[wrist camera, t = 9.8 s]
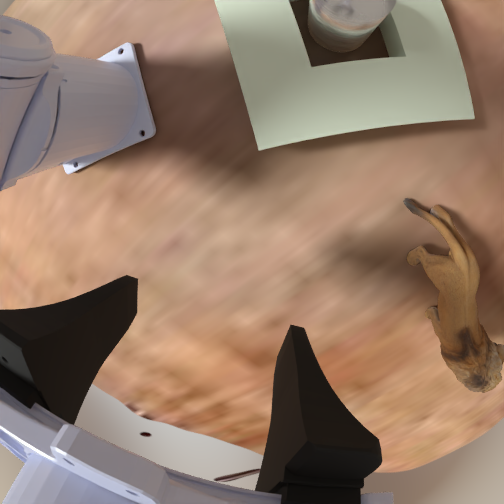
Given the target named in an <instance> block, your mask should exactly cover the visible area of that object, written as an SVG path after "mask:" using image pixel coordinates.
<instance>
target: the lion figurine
mask: <svg viewBox="0 0 504 504" xmlns="http://www.w3.org/2000/svg"><path fill="white" fill-rule="evenodd" d="M403 202H404V204H405V205H406V206H407V208H408V209H409V210H410V211H411V212H412V213H413V214H416V215H418V216H420V217H422V218H424V219H425V220H427V221H428V222H429V223H431V224H432V225H433V226H434V227H435V228H436V229H437V230H438V231H439V232H440V233H441V235H442V236H443V237H444V239H445V240H446V242H447V243H448V245H449V247H450V251H449V255H437V254H429V253H428V252H427V251H426V249H425V248H424V246H419V247H417V248H415V249H413V250H411V251H410V252H409V253H408V256H407V262H408V263H409V264H410V265H417V264H419V263H420V262H421V263H422V265H423V268H424V270H425V272H426V274H427V276H428V277H429V278H430V279H431V280H432V281H433V283H434V285H435V286H436V288H437V289H438V290H439V291H440V292H439V296H438V309H437V308H436V307H430V308H428V310H427V311H426V313H425V316H426V318H429V319H431V320H432V324H433V327H434V331H435V333H436V335H437V336H438V337H439V340H440V342H441V345H440V346H441V354H442V357H443V359H444V361H445V362H446V364H447V366H448V367H449V368H450V369H451V370H452V371H453V372H454V374H455V375H456V377H457V380H459V381H460V382H462V383H463V384H464V385H465V386H466V387H467V388H468V389H469V390H470V391H473V392H482V393H485V392H488V391H490V390H492V389H494V388H495V387H496V385H498V384H499V382H500V381H501V380H502V376H501V373H500V371H501V370H502V364H503V362H504V345H502V344H498V345H497V344H496V343H495V342H492V341H491V340H490V339H489V338H488V335H487V333H486V331H485V330H484V328H483V326H482V325H481V324H480V322H479V319H478V308H477V303H476V299H475V295H476V292H477V289H478V285H479V279H480V271H479V267H478V263H477V260H476V258H475V255H474V253H473V251H472V250H471V248H470V246H469V245H468V244H467V243H466V242H465V240H464V239H463V238H462V237H461V235H460V234H459V233H458V231H457V229H456V228H455V226H454V224H453V221H452V218H451V216H450V215H449V213H447V212H446V211H445V210H443V209H442V208H441V206H439V205H435V206H433V207H432V208H431V210H430V214H429V213H428V212H426V211H424V210H422V209H420V208H419V207H418V206H417V205H416V204H415V202H413V201H411V200H410V199H408V198H405V199H404V201H403Z"/></svg>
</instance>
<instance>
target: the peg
mask: <svg viewBox="0 0 504 504" xmlns="http://www.w3.org/2000/svg"><path fill="white" fill-rule="evenodd" d="M396 1H397V0H310V1H309V13H308V30H309V32H310V34H311V36H312V38H313V39H314V40H315V41H316V42H317V43H318V44H319V45H321V46H322V47H324V48H326V49H328V50H330V51H334V52H350V51H353V50H355V49H357V48H359V47H360V46H361V45H362V44H363V43H364V42H365V40H366V39H367V38H368V37H369V36H370V35H371V33H372V32H373V31H374V30H375V29H376V28H377V27H378V25H379V24H380V23H381V22H382V21H383V20H384V19H385V17H386V16H387V15H388V14H389V13H390V12H391V11H392V9H393V8H394V6H395V4H396Z"/></svg>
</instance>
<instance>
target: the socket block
mask: <svg viewBox="0 0 504 504" xmlns="http://www.w3.org/2000/svg"><path fill="white" fill-rule="evenodd" d="M214 1H215V4H216V7H217V10H218V13H219V16H220V19H221V23H222V26H223V29H224V32H225V35H226V39H227V42H228V45H229V48H230V52H231V55H232V58H233V62H234V65H235V68H236V72H237V75H238V79H239V82H240V85H241V89H242V92H243V96H244V99H245V103H246V106H247V110H248V113H249V117H250V121H251V124H252V128H253V131H254V135H255V139H256V142H257V146H258V150H264V149H268V148H272V147H276V146H281V145H285V144H290V143H295V142H299V141H304V140H309V139H314V138H319V137H325V136H330V135H336V134H342V133H347V132H354V131H360V130H366V129H373V128H380V127H388V126H396V125H404V124H413V123H423V122H435V121H448V120H464V119H475V116H474V110H473V105H472V100H471V95H470V90H469V86H468V82H467V77H466V73H465V70H464V66H463V62H462V59H461V55H460V52H459V49H458V45H457V42H456V39H455V36H454V33H453V30H452V28H451V25H450V22H449V19H448V17H447V14H446V12H445V9H444V7H443V4H442V2H441V0H397V1H396V4H395V6H394V8H393V9H392V11H391V12H390V13H389V14H388V15H387V16H386V17H385V19H384V20H383V21H382V22H381V23H380V24H379V27H380V30H381V33H382V36H383V39H384V42H385V45H386V48H387V51H388V54H389V58H376V59H365V60H356V61H348V62H341V63H334V64H327V65H321V66H315V67H311V64H310V61H309V58H308V55H307V52H306V48H305V45H304V42H303V39H302V36H301V33H300V30H299V27H298V25H297V22H296V19H295V16H294V13H293V11H292V8H291V5H290V3H289V2H292V1H298V0H214Z"/></svg>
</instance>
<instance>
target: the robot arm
mask: <svg viewBox="0 0 504 504" xmlns="http://www.w3.org/2000/svg"><path fill="white" fill-rule="evenodd" d="M123 49H124V51H123V53H122V54H121V50H123ZM143 130H144V131H145V135H144V136H142V133H141V132H142V131H143ZM155 133H156V127H155V124H154V120H153V117H152V113H151V110H150V106H149V102H148V99H147V95H146V91H145V88H144V84H143V80H142V76H141V72H140V68H139V64H138V60H137V56H136V52H135V48H134V45H133V44H132V43H125V44H123V45H121V46H119V47H117V48H116V49H114V50H112V51H110V52H109V53H107V54H105V55H104V56H102V57H100V58H99V59H97V60H96V59H91V58H85V57H79V56H72V55H65V54H57V53H55V50H54V48H53V45H52V41H51V39H50V38H49V37H48V36H47V35H46V34H45V33H44V32H42V31H41V30H39V29H38V28H36V27H34V26H32V25H30V24H28V23H26V22H23V21H21V20H18V19H15V18H11V17H7V16H3V15H0V191H2V190H4V189H7V188H9V187H12V186H14V185H15V184H16V182H17V180H18V179H21V178H24V177H27V176H30V175H32V174H35V173H38V172H41V171H44V170H47V169H50V168H53V167H57V166H60V165H63V166H64V169H65V172H66V173H67V174H71V173H74V172H76V171H78V170H79V169H81V168H83V167H85V166H87V165H90V164H92V163H94V162H96V161H98V160H100V159H102V158H104V157H106V156H108V155H111V154H113V153H115V152H117V151H120V150H122V149H124V148H126V147H129V146H131V145H134V144H136V143H138V142H141V141H143V140H146V139H148V138H151V137H153V136H154V135H155ZM76 163H78V166H77V165H76ZM137 290H138V279H137V278H134V277H131V276H128V275H126V276H123V277H121V278H118V279H116V280H114V281H112V282H110V283H107V284H105V285H103V286H101V287H99V288H96V289H94V290H92V291H89V292H87V293H84V294H82V295H79V296H77V297H74V298H71V299H68V300H65V301H62V302H58V303H55V304H50V305H45V306H41V307H35V308H27V309H15V310H0V443H1V444H2V445H3V446H5V447H6V448H7V449H8V450H9V451H10V452H12V453H13V454H14V455H15V456H17V457H18V458H19V459H20V460H21V461H23V462H24V463H25V464H24V467H23V468H22V469H21V471H20V473H19V475H18V476H17V478H16V479H15V481H14V483H13V485H12V487H11V488H10V490H9V492H8V493H7V495H6V497H5V499H4V500H3V502H2V504H393V493H392V492H379V493H378V492H377V493H365V494H362V495H361V494H360V488H363V486H364V478H365V477H367V476H368V475H369V474H371V473H372V472H373V471H375V470H376V469H377V468H378V467H379V466H380V465H381V463H382V454H381V447H380V442H379V439H378V438H377V437H376V436H374V435H373V434H372V433H371V432H370V431H369V430H367V429H366V428H365V427H364V426H363V425H362V424H361V423H360V422H359V421H358V420H357V419H356V418H355V417H354V416H353V415H352V414H351V413H350V412H349V410H348V409H347V408H346V407H345V405H344V404H343V403H342V402H341V401H340V399H339V398H338V396H337V395H336V394H335V392H334V391H333V389H332V388H331V386H330V384H329V383H328V381H327V379H326V377H325V375H324V374H323V372H322V370H321V368H320V366H319V363H318V361H317V359H316V357H315V355H314V352H313V350H312V347H311V345H310V342H309V340H308V337H307V334H306V331H305V329H304V328H302V327H298V326H294V325H290V328H289V330H288V332H287V335H286V337H285V340H284V342H283V344H282V347H281V349H280V352H279V354H278V356H277V362H276V367H275V372H274V382H273V398H272V413H271V422H270V428H269V433H268V438H267V443H266V448H265V453H264V457H263V461H262V466H261V470H260V474H259V478H258V481H257V485H256V488H255V491H253V490H248V489H243V488H238V487H233V486H229V485H225V484H220V483H217V482H212V481H209V480H205V479H201V478H197V477H194V476H191V475H188V474H184V473H181V472H178V471H175V470H172V469H169V468H166V467H163V466H160V465H158V464H156V463H154V462H152V461H150V460H148V459H146V458H144V457H142V456H139V455H137V454H135V453H132V452H130V451H128V450H125V449H123V448H121V447H118V446H116V445H114V444H112V443H110V442H107V441H106V440H103V439H101V438H99V437H97V436H95V435H94V434H91V433H90V432H87V431H86V430H84V429H82V428H80V427H77V426H75V425H74V423H75V420H76V418H77V415H78V413H79V410H80V408H81V405H82V403H83V401H84V399H85V396H86V394H87V392H88V390H89V388H90V386H91V384H92V382H93V380H94V378H95V376H96V375H97V373H98V371H99V369H100V367H101V366H102V364H103V363H104V361H105V360H106V358H107V357H108V356H109V354H110V353H111V352H112V350H113V349H114V348H115V346H116V345H117V344H118V342H119V341H120V340H121V338H122V337H123V336H124V334H125V333H126V331H127V330H128V329H129V327H130V325H131V323H132V322H133V320H134V318H135V316H136V314H137Z"/></svg>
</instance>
